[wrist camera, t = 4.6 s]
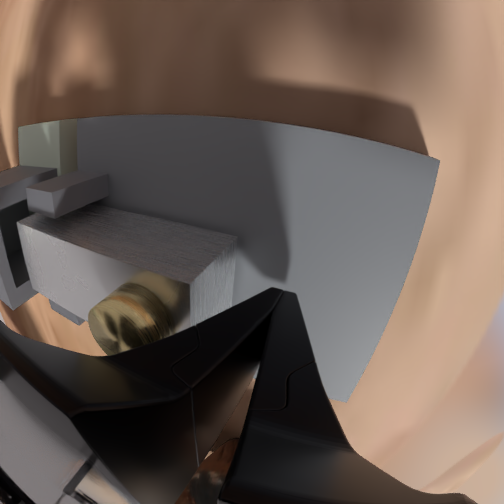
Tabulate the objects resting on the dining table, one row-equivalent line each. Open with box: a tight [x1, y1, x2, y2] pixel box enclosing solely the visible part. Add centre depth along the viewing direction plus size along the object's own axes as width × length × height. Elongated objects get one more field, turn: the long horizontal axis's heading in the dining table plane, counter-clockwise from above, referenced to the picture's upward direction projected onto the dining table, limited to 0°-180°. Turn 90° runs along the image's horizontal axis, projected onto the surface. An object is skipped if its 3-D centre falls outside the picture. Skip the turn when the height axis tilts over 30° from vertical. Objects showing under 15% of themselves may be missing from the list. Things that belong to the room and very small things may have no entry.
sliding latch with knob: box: [0, 114, 440, 402], centre depth 10 cm, size 10×19×5 cm, turn 86°
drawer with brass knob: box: [17, 203, 238, 356], centre depth 9 cm, size 3×8×4 cm, turn 85°
